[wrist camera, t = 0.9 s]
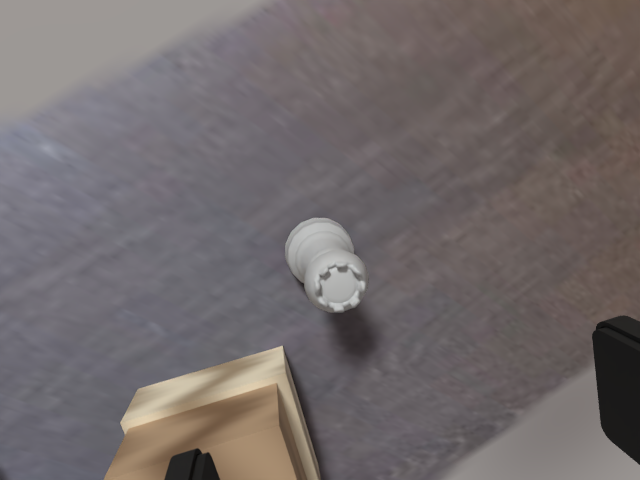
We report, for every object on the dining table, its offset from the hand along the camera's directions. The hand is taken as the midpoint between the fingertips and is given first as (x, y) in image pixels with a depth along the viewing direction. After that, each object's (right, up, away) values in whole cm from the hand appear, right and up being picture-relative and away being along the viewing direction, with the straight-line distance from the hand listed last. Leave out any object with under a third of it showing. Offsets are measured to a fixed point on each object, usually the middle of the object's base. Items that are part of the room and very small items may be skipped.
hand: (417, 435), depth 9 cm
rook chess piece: (-2, +4, +18) cm, 19 cm away
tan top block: (-8, -10, +16) cm, 20 cm away
